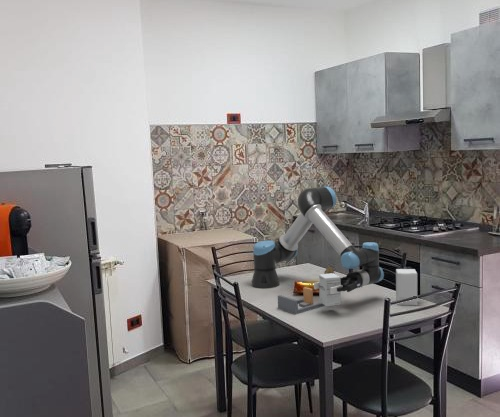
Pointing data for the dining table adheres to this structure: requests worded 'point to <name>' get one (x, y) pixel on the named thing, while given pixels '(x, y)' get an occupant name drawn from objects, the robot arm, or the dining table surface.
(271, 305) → the dining table surface
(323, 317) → the dining table surface
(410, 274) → the supplement box
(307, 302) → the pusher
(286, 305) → the grey l-shaped block
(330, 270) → the rock
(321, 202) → the robot arm
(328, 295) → the supplement box
